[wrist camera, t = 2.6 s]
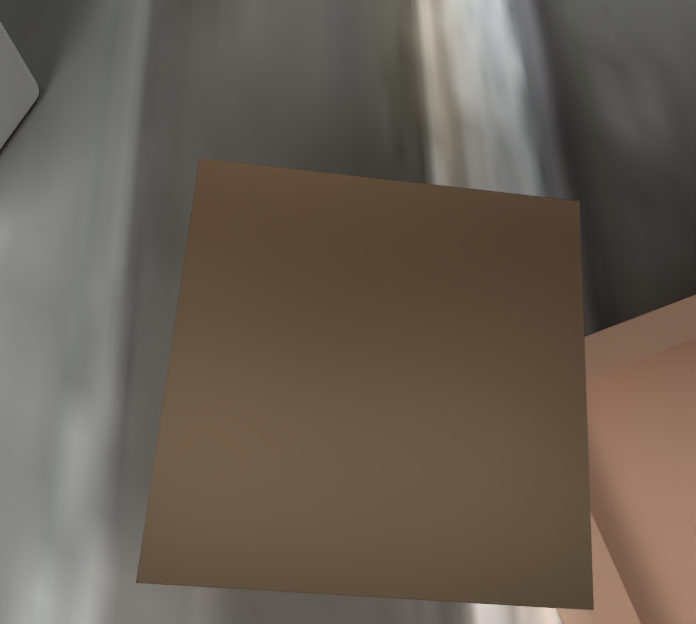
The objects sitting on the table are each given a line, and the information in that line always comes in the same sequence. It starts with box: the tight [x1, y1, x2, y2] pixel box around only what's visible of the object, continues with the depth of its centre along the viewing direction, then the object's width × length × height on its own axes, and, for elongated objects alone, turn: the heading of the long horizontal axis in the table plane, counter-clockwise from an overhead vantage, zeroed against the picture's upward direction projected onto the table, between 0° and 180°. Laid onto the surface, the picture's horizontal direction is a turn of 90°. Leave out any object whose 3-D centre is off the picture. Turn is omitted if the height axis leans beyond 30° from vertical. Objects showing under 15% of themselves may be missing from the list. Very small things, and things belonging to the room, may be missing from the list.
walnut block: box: [136, 158, 594, 610], centre depth 12 cm, size 4×4×10 cm
